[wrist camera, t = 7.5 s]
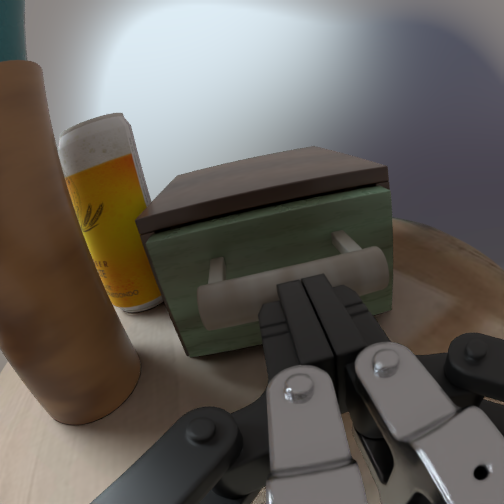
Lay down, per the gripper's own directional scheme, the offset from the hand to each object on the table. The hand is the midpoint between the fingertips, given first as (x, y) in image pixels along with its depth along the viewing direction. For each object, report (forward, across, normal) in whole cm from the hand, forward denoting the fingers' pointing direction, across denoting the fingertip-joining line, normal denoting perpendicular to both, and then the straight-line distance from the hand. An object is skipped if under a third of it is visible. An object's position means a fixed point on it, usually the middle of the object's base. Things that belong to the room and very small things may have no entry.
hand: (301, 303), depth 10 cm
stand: (+4, +13, +6) cm, 15 cm away
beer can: (+14, +11, +6) cm, 19 cm away
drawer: (+9, 0, +5) cm, 10 cm away
